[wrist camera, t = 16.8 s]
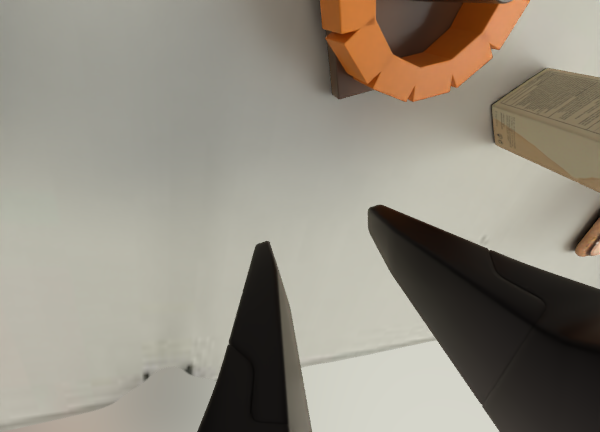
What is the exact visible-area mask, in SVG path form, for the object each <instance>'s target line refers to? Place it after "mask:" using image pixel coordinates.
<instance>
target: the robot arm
mask: <svg viewBox="0 0 600 432" xmlns="http://www.w3.org/2000/svg"><path fill="white" fill-rule="evenodd" d="M368 229H369V232H370V235H371V236H372V238H373V240H374V242H375V244H376V246H377V248H378V250H379V252H380V254H381V255H382V257H383V259H384V261H385V263H386V265H387V267H388V269H389V270H390V272H391V274H392V275H393V277H394V278H395V280H396V281H397V283H398V284H399V286H400V287H401V288H402V290H403V291H404V293H405V294H406V296H407V297H408V299H409V300H410V302H411V303H412V305H413V306H414V307H415V309H416V310H417V312H418V313H419V315H420V316H421V318H422V319H423V321H424V322H425V323H426V325H427V326H428V328H429V329H430V331H431V332H432V334H433V335H434V337H435V338H436V339H437V341H438V342H439V344H440V345H441V347H442V348H443V350H444V351H445V353H446V354H447V355H448V357H449V358H450V360H451V361H452V363H453V364H454V366H455V367H456V368H457V370H458V371H459V373H460V374H461V376H462V377H463V379H464V380H465V382H466V383H467V384H468V386H469V387H470V389H471V390H472V392H473V393H474V395H475V396H476V398H477V399H478V401H479V402H480V403H481V404H482V405H483V408H484V410H485V411H486V412H487V414H488V415H489V417H490V418H491V420H492V421H493V423H494V424H495V426H496V427H497V428H498V430H499V431H500V432H600V289H597V288H594V287H591V286H588V285H585V284H582V283H579V282H576V281H573V280H571V279H568V278H565V277H562V276H559V275H556V274H553V273H550V272H547V271H544V270H541V269H539V268H536V267H533V266H530V265H527V264H525V263H522V262H520V261H517V260H515V259H512V258H509V257H507V256H504V255H502V254H500V253H497V252H495V251H492V250H490V251H489V250H488V249H487V248H485V247H482V246H480V245H478V244H475V243H473V242H470V241H468V240H466V239H463V238H461V237H458V236H456V235H454V234H451V233H449V232H446V231H444V230H441V229H439V228H437V227H434V226H432V225H429V224H427V223H425V222H422V221H420V220H417V219H415V218H413V217H410V216H408V215H405V214H403V213H400V212H398V211H396V210H393V209H391V208H388V207H386V206H384V205H376V206H373V207H370V208H369V209H368ZM197 432H312V429H311V423H310V417H309V411H308V406H307V400H306V395H305V389H304V383H303V377H302V372H301V366H300V360H299V355H298V349H297V343H296V338H295V332H294V326H293V321H292V315H291V310H290V306H289V302H288V299H287V295H286V292H285V289H284V286H283V283H282V279H281V276H280V273H279V270H278V267H277V263H276V260H275V257H274V254H273V251H272V248H271V245H270V242H269V241H265V242H262V243H259V244H257V245H256V247H255V250H254V253H253V257H252V261H251V264H250V268H249V271H248V275H247V278H246V282H245V286H244V289H243V293H242V296H241V300H240V304H239V307H238V311H237V314H236V318H235V321H234V325H233V329H232V332H231V336H230V339H229V345H228V346H227V350H226V353H225V357H224V360H223V363H222V367H221V370H220V373H219V376H218V379H217V382H216V385H215V388H214V390H213V394H212V396H211V399H210V401H209V404H208V406H207V409H206V411H205V414H204V416H203V419H202V421H201V424H200V426H199V429H198V431H197Z"/></svg>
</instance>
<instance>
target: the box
mask: <svg viewBox="0 0 600 432" xmlns="http://www.w3.org/2000/svg"><path fill="white" fill-rule="evenodd" d="M492 115H493V128H494V137H495V144H496V145H497V146H499V147H501V148H504V149H506V150H508V151H510V152H512V153H514V154H517V155H519V156H521V157H523V158H525V159H528V160H530V161H532V162H534V163H536V164H539V165H541V166H543V167H545V168H547V169H549V170H552V171H554V172H556V173H558V174H560V175H563V176H565V177H567V178H569V179H571V180H573V181H576V182H578V183H580V184H582V185H584V186H586V187H589V188H591V189H593V190H595V191H597V192H599V193H600V77H594V76H589V75H583V74H578V73H572V72H567V71H561V70H556V69H551V68H547V69H545V70H543V71H542V72H540V73H539V74H537V75H535V76H534V77H532V78H531V79H529V80H528V81H526V82H525V83H524V84H522V85H521V86H519V87H518V88H516V89H515V90H513V91H512V92H510V93H509V94H507V95H506V96H505V97H503V98H502V99H501V100H499V101H498V102H496V103H495V104H493V106H492Z"/></svg>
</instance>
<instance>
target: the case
mask: <svg viewBox="0 0 600 432" xmlns="http://www.w3.org/2000/svg"><path fill="white" fill-rule="evenodd" d="M575 253H576V254H577V255H578V256H582V257H584V256H595V255H599V254H600V217H599V219H598V220H597V221H596V222H595V223H594V225H593V226H592V227H591V229H590V230H589V231H588V232H587V234H586V235H585V236H584V237H583V239H582V240H581V241H580V242H579V244H578V245H577V247H576V249H575Z"/></svg>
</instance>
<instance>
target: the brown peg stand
mask: <svg viewBox="0 0 600 432" xmlns="http://www.w3.org/2000/svg"><path fill="white" fill-rule="evenodd" d="M511 1H513V0H376V21H377V23H378V25H379V27H380V29H381V31H382V33H383V35H384V37H385V39H386V41H387V43H388V45H389V47H390V49H391V52H392V54H394V55H396V56H398V57H400V58H402V57H406V56H410V55H414V54H418V53H422V52H424V51H425V50H426V49H427V48H428V47H429V46H431V45H432V44H433V43H434V42H435V41H436V40H437V39H438V38H439V37H441V36H442V35H443V34H444V33H445V32H446V31H447V30H448V29H449V28H450V27H451V25H452V23H453V21H454V19H455V17H456V15H457V13H458V11H459V10H460V8H461V6H462V4H463V3H495V4H505V3H509V2H511ZM331 32H332V31H328V30H326V35H327V36H328V35H329V34H330V33H331ZM327 45H328V56H329V66H330V77H331V87H332V94H333V95H334V96H335V97H336V98H338V99H342V98H346V97H349V96H353V95H357V94H360V93H364V92H367V91H371V90H374V89H372V88H370V87H368V86H366V85H364V84H362V83H360V82H359V81H357V80H355V79H353V76H351V75H349V74H347V72H346V71H345V69H344V68H343V66H342V64H341V63H340V61H339V60H338V58H337V56H336V55H335V53H334V52H333V50H332V48H331V47H330V45H329V44H328V42H327Z"/></svg>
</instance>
